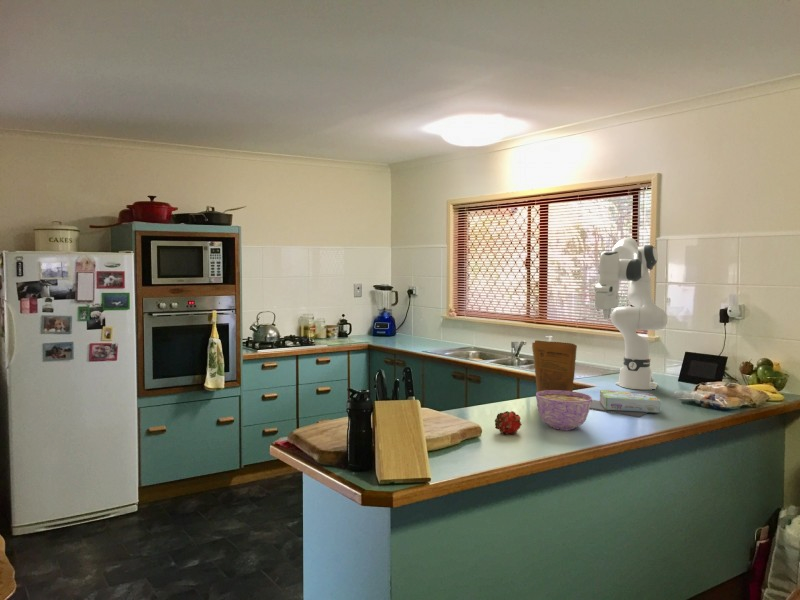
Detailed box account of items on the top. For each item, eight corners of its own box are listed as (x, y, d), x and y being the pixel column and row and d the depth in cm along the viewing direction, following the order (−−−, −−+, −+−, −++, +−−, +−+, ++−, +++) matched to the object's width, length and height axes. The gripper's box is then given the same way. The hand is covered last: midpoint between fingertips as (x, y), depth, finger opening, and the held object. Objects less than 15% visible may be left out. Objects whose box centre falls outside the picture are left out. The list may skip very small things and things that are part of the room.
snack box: (651, 391, 279) (661, 400, 264) (650, 405, 280) (660, 414, 265) (599, 389, 282) (606, 397, 267) (599, 402, 282) (605, 411, 268)
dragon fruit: (494, 440, 227) (515, 439, 235) (512, 430, 222) (533, 429, 230) (485, 417, 231) (506, 417, 239) (503, 406, 226) (523, 407, 234)
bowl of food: (603, 430, 238) (604, 398, 237) (561, 437, 228) (562, 403, 227) (563, 418, 255) (564, 388, 254) (522, 423, 245) (524, 392, 244)
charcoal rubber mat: (590, 400, 289) (590, 399, 289) (651, 410, 273) (651, 408, 273) (576, 406, 276) (576, 405, 276) (639, 417, 260) (640, 415, 260)
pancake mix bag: (569, 415, 260) (572, 344, 258) (528, 406, 273) (531, 339, 272) (578, 413, 265) (581, 343, 263) (537, 404, 278) (540, 338, 276)
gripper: (609, 286, 305) (607, 316, 306) (593, 287, 289) (591, 319, 290) (622, 287, 302) (621, 317, 303) (607, 288, 285) (605, 320, 286)
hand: (606, 318), depth 296 cm, fingers closed
